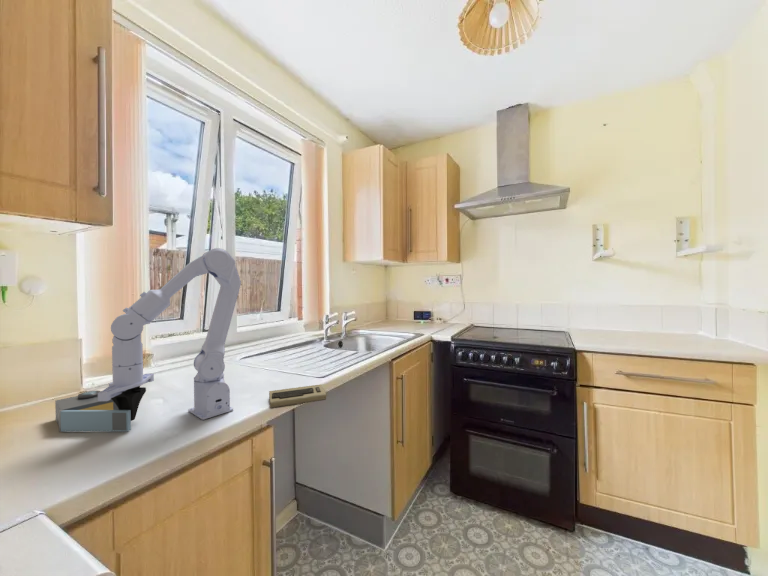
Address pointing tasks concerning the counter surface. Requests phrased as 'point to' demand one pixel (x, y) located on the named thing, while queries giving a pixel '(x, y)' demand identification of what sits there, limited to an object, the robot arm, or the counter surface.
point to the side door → (94, 420)
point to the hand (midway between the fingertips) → (129, 420)
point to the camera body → (84, 403)
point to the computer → (296, 395)
